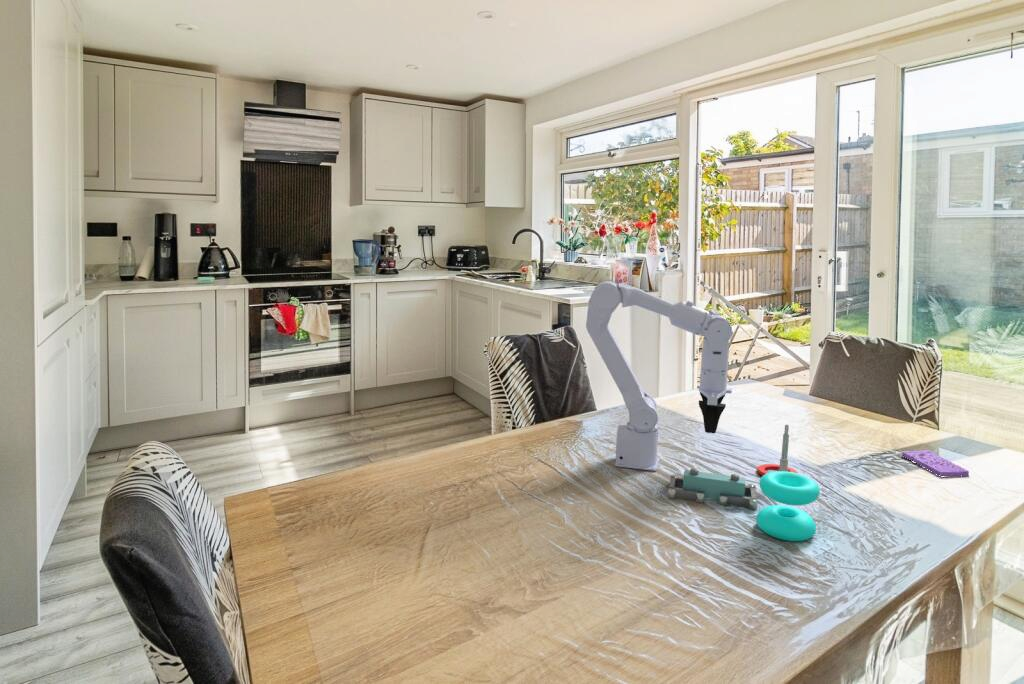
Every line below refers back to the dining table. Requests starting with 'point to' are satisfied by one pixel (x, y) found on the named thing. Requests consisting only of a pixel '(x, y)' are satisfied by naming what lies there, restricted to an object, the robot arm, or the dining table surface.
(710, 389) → the robot arm
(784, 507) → the donuts
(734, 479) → the teal studded beam
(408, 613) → the dining table surface
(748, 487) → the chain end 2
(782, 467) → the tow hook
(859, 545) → the dining table surface
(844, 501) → the dining table surface
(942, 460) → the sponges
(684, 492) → the chain end
